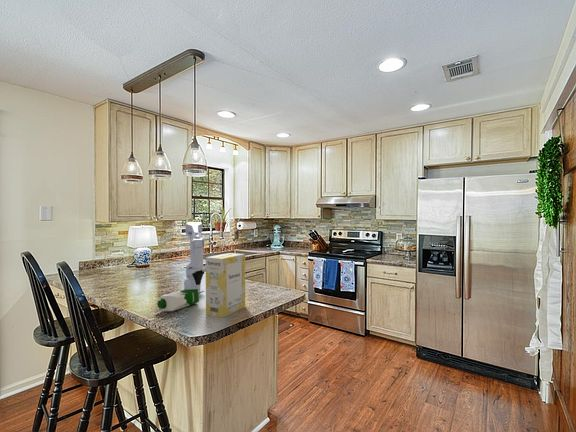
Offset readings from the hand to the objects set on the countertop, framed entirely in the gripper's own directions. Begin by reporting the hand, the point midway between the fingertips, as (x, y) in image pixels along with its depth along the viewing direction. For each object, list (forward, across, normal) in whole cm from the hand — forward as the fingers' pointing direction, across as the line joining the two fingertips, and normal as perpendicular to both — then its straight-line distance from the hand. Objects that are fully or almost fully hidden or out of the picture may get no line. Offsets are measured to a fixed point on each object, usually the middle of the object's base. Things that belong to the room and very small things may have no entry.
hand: (198, 284), depth 165 cm
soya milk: (+6, -1, +2) cm, 6 cm away
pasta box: (+10, -7, -22) cm, 25 cm away
